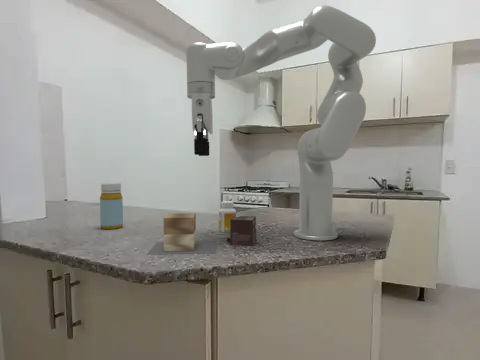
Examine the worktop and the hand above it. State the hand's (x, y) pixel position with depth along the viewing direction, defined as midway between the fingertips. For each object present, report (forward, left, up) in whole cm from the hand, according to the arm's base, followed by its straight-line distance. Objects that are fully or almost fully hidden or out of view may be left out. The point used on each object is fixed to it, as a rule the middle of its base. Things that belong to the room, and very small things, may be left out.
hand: (202, 155), depth 87 cm
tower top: (+5, +8, -19) cm, 22 cm away
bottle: (+32, -22, -24) cm, 46 cm away
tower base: (+5, +8, -23) cm, 25 cm away
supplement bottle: (-7, -12, -24) cm, 28 cm away
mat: (+4, +8, -24) cm, 26 cm away
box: (-11, +4, -24) cm, 27 cm away
